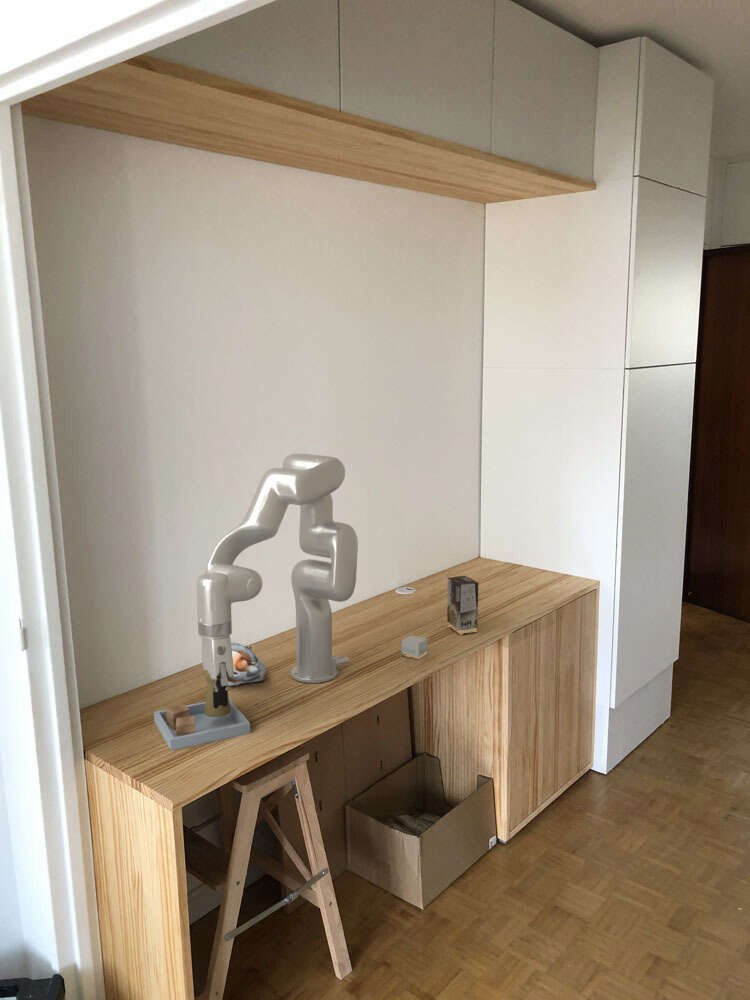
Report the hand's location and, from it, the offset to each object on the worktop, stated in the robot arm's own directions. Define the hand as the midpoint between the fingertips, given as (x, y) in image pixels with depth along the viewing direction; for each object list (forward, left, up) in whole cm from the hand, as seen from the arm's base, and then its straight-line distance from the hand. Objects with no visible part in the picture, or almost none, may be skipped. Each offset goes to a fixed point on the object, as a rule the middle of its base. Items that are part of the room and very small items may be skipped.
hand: (217, 702), depth 192 cm
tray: (+4, 0, -6) cm, 7 cm away
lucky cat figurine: (-13, -23, -6) cm, 27 cm away
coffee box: (-87, -30, -6) cm, 92 cm away
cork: (0, 0, -2) cm, 2 cm away
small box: (-63, -18, -6) cm, 66 cm away
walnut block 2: (+8, +3, -5) cm, 11 cm away
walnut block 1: (+8, -4, -5) cm, 11 cm away
